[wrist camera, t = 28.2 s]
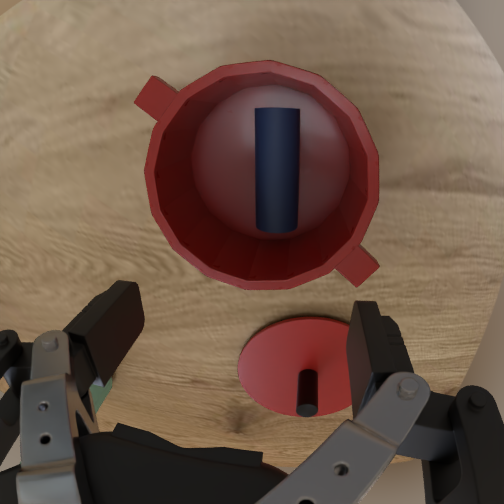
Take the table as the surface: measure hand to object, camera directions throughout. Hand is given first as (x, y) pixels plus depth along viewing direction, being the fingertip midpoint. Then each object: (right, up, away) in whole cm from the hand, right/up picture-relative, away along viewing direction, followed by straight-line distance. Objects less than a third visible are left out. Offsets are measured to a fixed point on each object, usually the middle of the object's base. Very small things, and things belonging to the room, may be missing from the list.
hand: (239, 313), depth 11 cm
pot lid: (+7, -12, +25) cm, 29 cm away
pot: (+2, +10, +16) cm, 19 cm away
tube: (+2, +10, +16) cm, 19 cm away
